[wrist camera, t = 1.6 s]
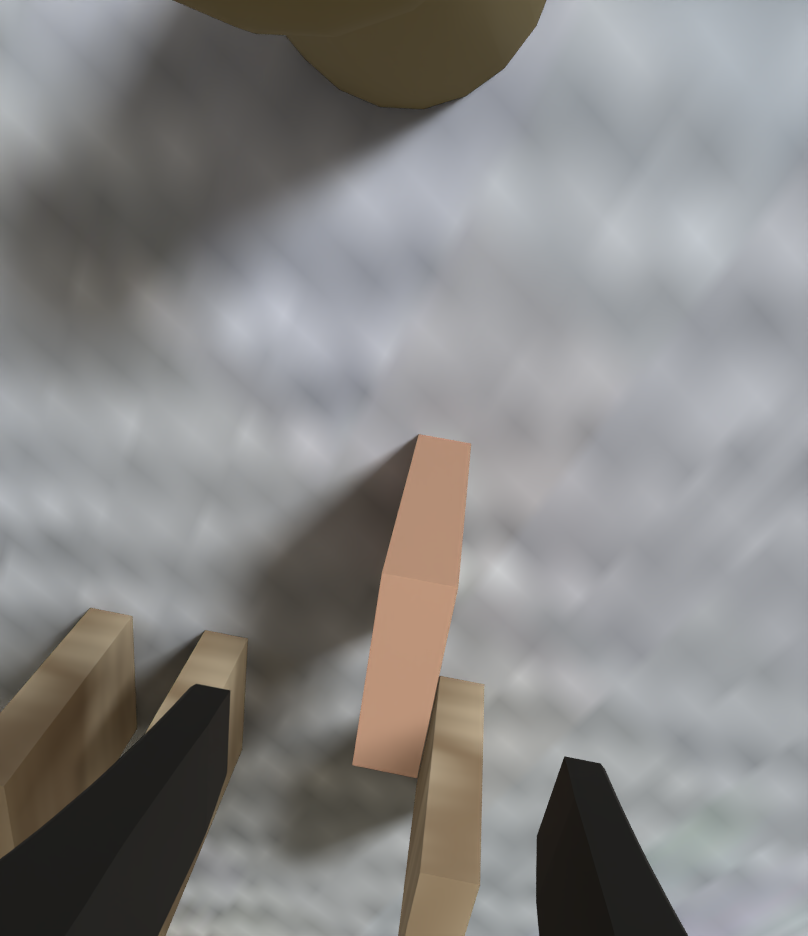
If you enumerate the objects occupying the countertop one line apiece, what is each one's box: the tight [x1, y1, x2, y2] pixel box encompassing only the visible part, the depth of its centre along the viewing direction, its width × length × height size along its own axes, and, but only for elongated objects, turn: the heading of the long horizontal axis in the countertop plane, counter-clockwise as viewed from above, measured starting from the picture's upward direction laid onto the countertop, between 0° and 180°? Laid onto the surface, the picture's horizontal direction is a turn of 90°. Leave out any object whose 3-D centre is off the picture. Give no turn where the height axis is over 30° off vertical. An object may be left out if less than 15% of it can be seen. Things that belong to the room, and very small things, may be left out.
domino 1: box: [0, 608, 137, 859], centre depth 21 cm, size 1×5×6 cm, turn 172°
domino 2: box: [352, 434, 471, 778], centre depth 17 cm, size 1×5×6 cm, turn 172°
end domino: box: [398, 676, 484, 936], centre depth 20 cm, size 1×5×6 cm, turn 172°
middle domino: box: [146, 630, 248, 936], centre depth 21 cm, size 1×5×6 cm, turn 172°
